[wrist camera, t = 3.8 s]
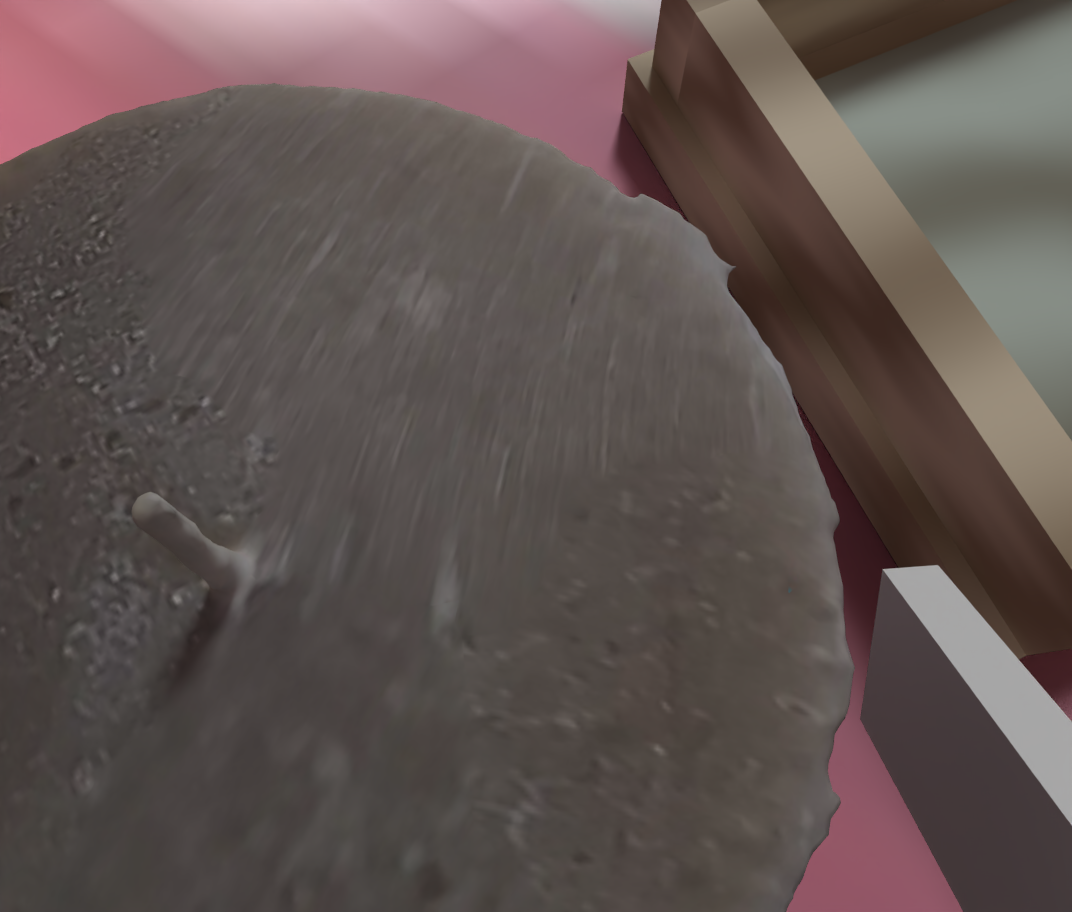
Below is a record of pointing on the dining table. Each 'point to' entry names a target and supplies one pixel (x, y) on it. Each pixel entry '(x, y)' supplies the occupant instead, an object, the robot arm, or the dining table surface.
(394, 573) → the pillar candle
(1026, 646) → the wooden tray
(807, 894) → the dining table surface
